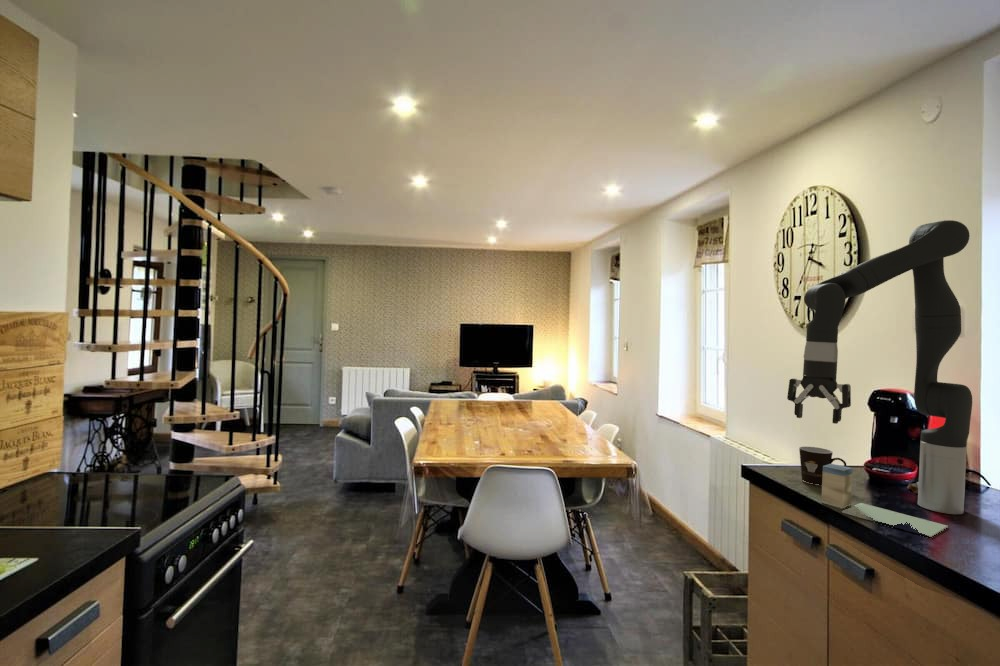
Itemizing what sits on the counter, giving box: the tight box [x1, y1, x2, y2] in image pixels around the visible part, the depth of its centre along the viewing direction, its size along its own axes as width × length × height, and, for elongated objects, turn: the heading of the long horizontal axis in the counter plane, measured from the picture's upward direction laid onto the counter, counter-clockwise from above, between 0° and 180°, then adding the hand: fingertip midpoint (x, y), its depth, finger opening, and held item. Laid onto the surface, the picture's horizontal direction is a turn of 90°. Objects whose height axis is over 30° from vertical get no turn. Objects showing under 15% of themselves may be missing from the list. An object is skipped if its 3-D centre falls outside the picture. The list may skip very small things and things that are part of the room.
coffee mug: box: [798, 446, 848, 485], centre depth 153 cm, size 12×9×10 cm
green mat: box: [850, 502, 949, 538], centre depth 125 cm, size 12×18×1 cm, turn 35°
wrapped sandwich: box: [907, 481, 919, 494], centre depth 147 cm, size 7×12×4 cm, turn 49°
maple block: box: [820, 463, 853, 507], centre depth 135 cm, size 5×5×10 cm
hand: (816, 420), depth 135 cm, fingers open, 8 cm apart
